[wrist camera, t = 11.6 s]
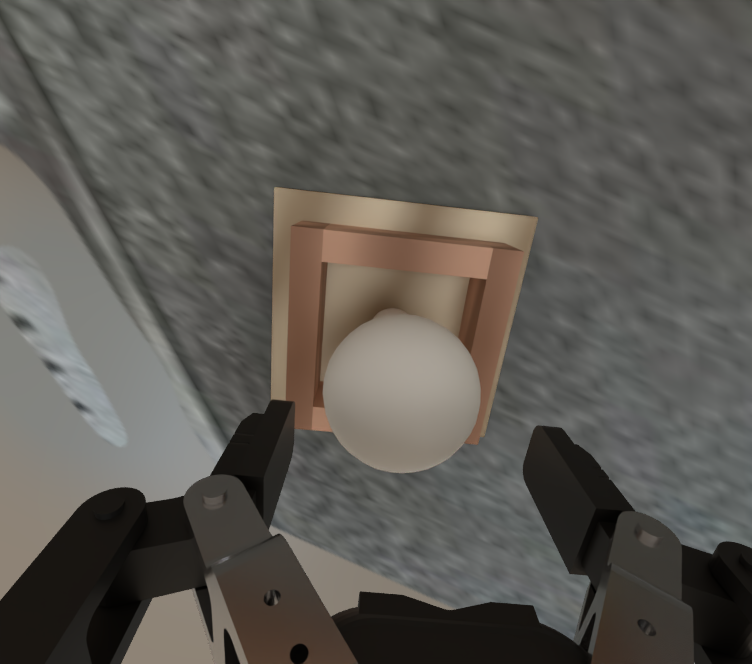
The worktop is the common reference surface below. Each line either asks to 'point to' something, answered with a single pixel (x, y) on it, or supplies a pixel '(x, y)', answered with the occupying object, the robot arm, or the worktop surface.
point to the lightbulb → (401, 392)
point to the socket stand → (388, 284)
